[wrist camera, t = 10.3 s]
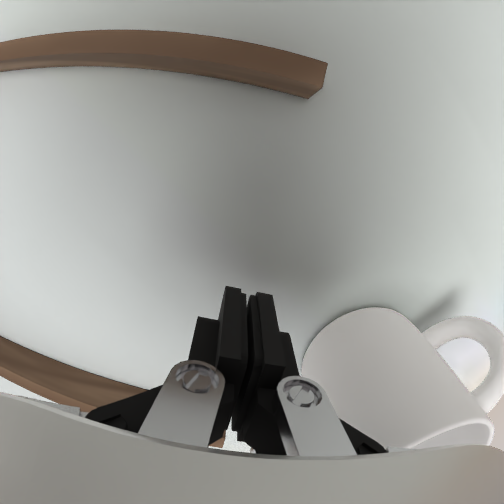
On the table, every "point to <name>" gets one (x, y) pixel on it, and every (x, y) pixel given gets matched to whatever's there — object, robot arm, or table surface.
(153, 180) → the table surface
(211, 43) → the open wooden rail frame
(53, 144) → the table surface
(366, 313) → the mug
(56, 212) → the table surface
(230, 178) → the table surface
